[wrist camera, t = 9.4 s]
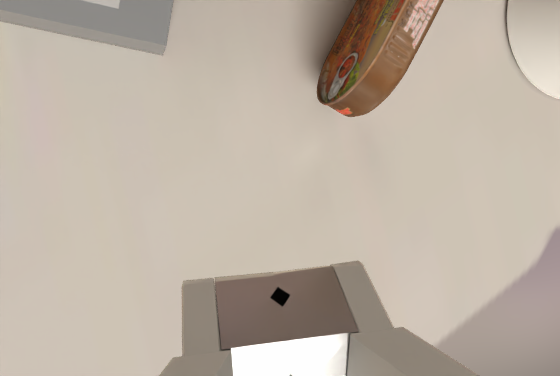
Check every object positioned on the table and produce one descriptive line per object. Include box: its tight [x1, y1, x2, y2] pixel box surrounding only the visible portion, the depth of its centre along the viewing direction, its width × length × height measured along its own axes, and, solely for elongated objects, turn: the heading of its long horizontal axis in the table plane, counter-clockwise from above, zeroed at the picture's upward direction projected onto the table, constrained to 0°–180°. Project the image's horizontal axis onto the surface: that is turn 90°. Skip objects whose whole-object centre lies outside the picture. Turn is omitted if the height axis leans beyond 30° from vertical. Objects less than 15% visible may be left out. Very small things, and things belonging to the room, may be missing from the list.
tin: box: [317, 0, 444, 117], centre depth 37 cm, size 15×3×8 cm, turn 151°
